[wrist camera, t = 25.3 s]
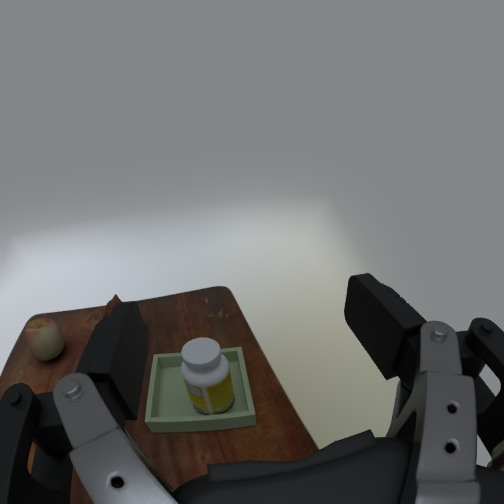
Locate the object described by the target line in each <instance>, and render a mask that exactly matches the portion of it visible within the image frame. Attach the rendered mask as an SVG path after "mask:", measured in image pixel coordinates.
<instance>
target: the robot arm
mask: <svg viewBox="0 0 504 504" xmlns="http://www.w3.org/2000/svg"><path fill="white" fill-rule="evenodd" d="M344 315H345V320H346V322H347V324H348V326H349V327H350V329H351V330H352V331H353V333H354V334H355V335H356V337H357V338H358V340H359V341H360V343H361V344H362V346H363V347H364V348H365V350H366V351H367V353H368V354H369V355H370V357H371V358H372V360H373V361H374V363H375V364H376V366H377V367H378V369H379V370H380V372H381V373H382V375H383V376H384V377H385V379H386V380H388V379H390V378H393V377H396V376H398V377H399V378H400V381H399V383H398V386H397V392H396V398H395V404H394V410H393V415H392V420H391V424H390V428H389V430H388V432H387V434H386V437H378V438H377V437H376V438H375V437H374V435H373V433H372V431H371V430H367V431H364V432H362V433H359V434H356V435H353V436H350V437H347V438H344V439H342V440H338V441H335V442H333V443H331V444H330V445H328V446H326V447H324V448H323V449H320V450H319V451H317V452H315V453H313V454H311V455H309V456H307V457H305V458H303V459H301V460H298V461H293V462H277V461H253V460H249V461H241V462H232V463H222V464H208V465H207V466H208V474H206V475H202V476H200V477H197V478H195V479H192V480H190V481H188V482H186V483H184V484H183V485H181V486H180V487H178V488H177V489H176V490H174V489H173V488H172V487H171V485H170V484H169V483H168V482H167V481H166V480H165V479H164V478H163V477H162V476H161V475H160V474H159V473H158V471H157V470H156V469H155V468H154V467H153V466H152V464H151V463H150V462H149V461H148V459H147V458H146V457H145V456H144V454H143V453H142V452H141V450H140V449H139V448H138V446H137V445H136V444H135V442H134V441H133V440H132V438H131V437H130V435H129V434H128V432H127V431H126V430H125V422H126V420H137V418H138V410H139V403H140V396H141V390H142V384H143V378H144V372H145V366H146V361H147V356H148V350H149V343H148V336H147V333H146V330H145V327H144V324H143V320H142V317H141V314H140V311H139V308H138V305H137V303H136V302H135V301H130V302H117V303H115V304H114V307H113V309H112V311H111V313H110V315H109V316H106V317H104V318H103V319H102V320H101V321H100V322H99V323H98V324H97V325H96V326H95V328H94V330H93V332H92V335H91V336H92V337H90V339H89V341H88V345H87V346H86V348H85V350H84V353H83V355H82V357H81V360H80V362H79V365H78V367H77V369H76V372H75V373H72V374H69V375H66V376H65V377H63V378H62V379H60V380H59V381H58V383H57V384H56V386H55V387H54V390H53V392H47V393H42V394H36V395H35V394H34V392H33V391H32V390H31V388H30V387H29V386H28V385H26V384H24V383H18V384H14V385H12V386H11V387H9V388H8V389H7V390H6V391H5V393H4V394H3V396H2V398H1V401H0V504H70V490H71V479H72V470H73V466H74V468H75V470H76V472H77V474H78V475H79V477H80V479H81V481H82V483H83V485H84V487H85V488H86V490H87V492H88V494H89V495H90V497H91V499H92V500H93V502H94V504H504V332H503V331H502V330H501V329H500V328H499V327H498V326H497V325H496V324H495V323H494V322H492V321H491V320H489V319H486V318H475V319H473V320H472V322H471V324H470V327H469V329H468V331H460V332H455V331H454V329H453V328H452V327H450V326H449V325H447V324H445V323H443V322H439V321H429V322H427V321H426V320H425V319H424V318H423V317H422V316H421V315H420V314H419V313H418V312H417V311H416V310H415V309H414V308H413V307H411V306H410V305H409V304H408V303H406V301H405V300H404V299H403V298H402V297H400V295H399V294H397V292H395V291H394V290H393V289H392V288H390V287H388V286H386V285H384V284H382V283H380V282H379V281H377V280H376V279H375V278H374V277H373V276H372V275H371V274H369V273H366V274H360V275H354V276H351V277H350V278H349V281H348V288H347V296H346V302H345V308H344ZM485 364H487V365H488V367H489V368H490V369H491V370H492V371H493V372H494V374H495V375H496V376H497V377H498V378H499V380H500V383H501V389H500V392H499V393H498V395H497V396H496V397H495V395H494V394H493V393H492V392H491V390H490V389H489V387H488V386H487V385H486V384H485V382H484V381H483V380H482V379H481V377H480V376H479V374H480V372H481V371H482V369H483V367H484V366H485ZM477 434H478V436H479V437H480V439H481V441H482V442H483V444H484V445H485V447H486V449H487V451H488V452H489V454H490V456H491V458H492V460H491V461H490V462H489V463H488V465H487V467H484V466H480V465H477V464H476V457H477ZM32 442H34V443H35V444H36V445H37V447H36V451H35V456H34V460H33V466H32V471H31V475H30V473H29V471H28V468H27V462H28V457H29V452H30V448H31V444H32Z"/></svg>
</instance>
